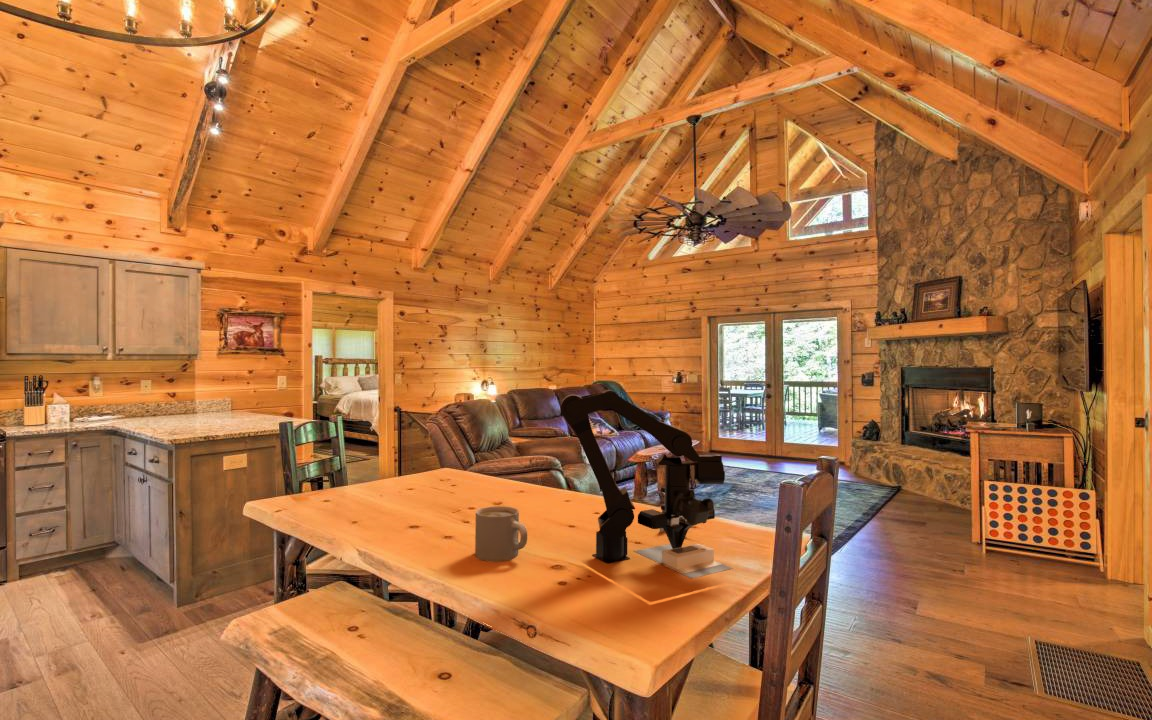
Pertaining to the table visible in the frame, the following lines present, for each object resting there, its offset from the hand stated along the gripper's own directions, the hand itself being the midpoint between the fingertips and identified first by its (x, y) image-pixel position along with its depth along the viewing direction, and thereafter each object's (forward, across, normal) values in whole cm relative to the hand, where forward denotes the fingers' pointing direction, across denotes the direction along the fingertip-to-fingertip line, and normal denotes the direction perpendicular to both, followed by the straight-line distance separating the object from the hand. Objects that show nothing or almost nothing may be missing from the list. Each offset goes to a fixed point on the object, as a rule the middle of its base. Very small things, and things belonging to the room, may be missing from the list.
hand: (676, 552), depth 130 cm
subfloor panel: (+2, 0, -2) cm, 2 cm away
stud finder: (+1, 0, -4) cm, 4 cm away
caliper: (+2, +19, +21) cm, 29 cm away
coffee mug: (+2, -34, +22) cm, 40 cm away
